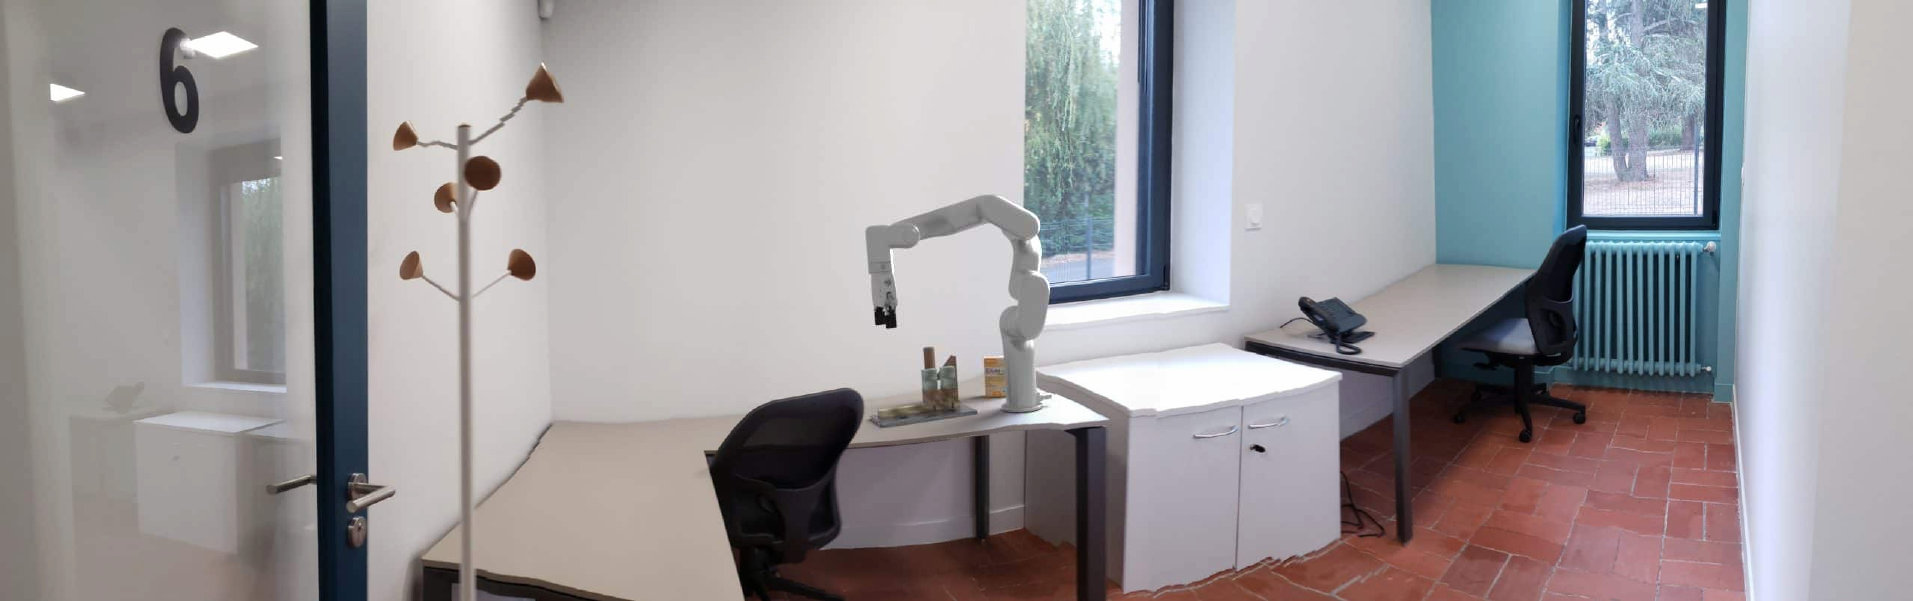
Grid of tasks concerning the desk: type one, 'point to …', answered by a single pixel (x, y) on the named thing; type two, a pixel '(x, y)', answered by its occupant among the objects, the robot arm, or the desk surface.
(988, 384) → the supplement box
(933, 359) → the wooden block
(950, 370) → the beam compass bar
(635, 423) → the desk surface
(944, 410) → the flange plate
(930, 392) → the sliding leg
